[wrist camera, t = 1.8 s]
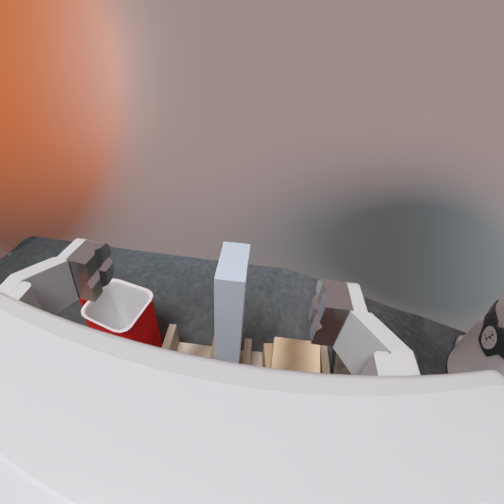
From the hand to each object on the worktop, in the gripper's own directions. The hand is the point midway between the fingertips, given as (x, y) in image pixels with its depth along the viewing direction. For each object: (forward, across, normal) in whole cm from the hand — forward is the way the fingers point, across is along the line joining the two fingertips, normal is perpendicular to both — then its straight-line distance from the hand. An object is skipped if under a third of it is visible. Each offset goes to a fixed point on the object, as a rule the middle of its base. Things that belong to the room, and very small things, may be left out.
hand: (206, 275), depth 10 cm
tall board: (+13, 0, +28) cm, 31 cm away
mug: (+16, +16, +30) cm, 37 cm away
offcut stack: (+14, -8, +27) cm, 32 cm away
